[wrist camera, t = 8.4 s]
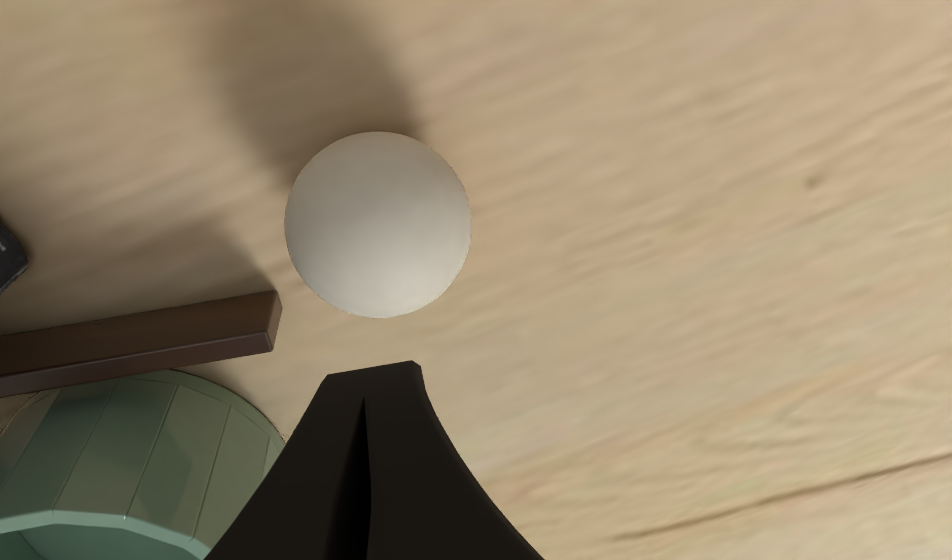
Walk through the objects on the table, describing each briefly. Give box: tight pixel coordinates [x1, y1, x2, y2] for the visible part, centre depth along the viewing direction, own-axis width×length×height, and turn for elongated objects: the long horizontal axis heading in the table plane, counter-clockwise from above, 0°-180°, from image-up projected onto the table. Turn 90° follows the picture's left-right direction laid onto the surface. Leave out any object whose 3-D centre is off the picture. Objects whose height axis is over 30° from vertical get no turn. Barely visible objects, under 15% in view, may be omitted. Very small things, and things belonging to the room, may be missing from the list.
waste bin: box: [0, 369, 285, 560], centre depth 20 cm, size 8×8×5 cm
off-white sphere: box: [284, 132, 472, 318], centre depth 17 cm, size 4×4×4 cm
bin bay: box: [0, 291, 282, 398], centre depth 21 cm, size 11×10×2 cm
